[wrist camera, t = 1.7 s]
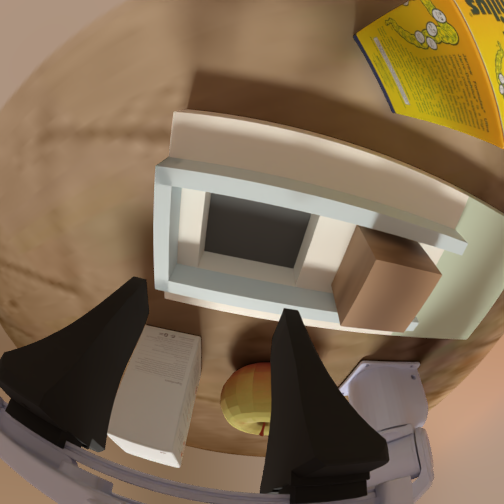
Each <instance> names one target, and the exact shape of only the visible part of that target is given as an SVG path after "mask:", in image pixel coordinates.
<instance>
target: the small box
mask: <svg viewBox="0 0 504 504" xmlns="http://www.w3.org/2000/svg"><path fill="white" fill-rule="evenodd" d="M200 376H201V337H199V336H195V335H190V334H185V333H180V332H176V331H171V330H166V329H162V328H157V327H153V326H148V325H145V327H144V329H143V332H142V334H141V336H140V338H139V340H138V342H137V345H136V347H135V350H134V352H133V354H132V357H131V359H130V361H129V364H128V366H127V369H126V371H125V373H124V376H123V378H122V381H121V383H120V386H119V388H118V391H117V394H116V397H115V400H114V404H113V408H112V412H111V417H110V421H109V426H108V432H107V435H108V436H109V437H110V438H111V439H112V440H113V441H114V442H115V443H116V444H117V445H119V446H120V447H121V448H122V449H123V450H124V451H125V452H127V453H130V454H132V455H135V456H138V457H142V458H144V459H148V460H151V461H155V462H158V463H161V464H165V465H169V466H173V467H177V468H179V467H180V466H181V462H182V457H183V452H184V447H185V443H186V438H187V434H188V429H189V425H190V420H191V416H192V411H193V406H194V402H195V397H196V393H197V389H198V385H199V381H200Z"/></svg>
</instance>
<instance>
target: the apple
mask: <svg viewBox="0 0 504 504" xmlns="http://www.w3.org/2000/svg"><path fill="white" fill-rule="evenodd" d="M220 405H221V408H222V411H223V414H224V416H225V419H226V420H227V421H228V422H229V424H230V425H232V426H233V427H235V428H236V429H238V430H241V431H244V432H246V433H251V434H257V435H260V436H264V435H269V428H270V417H271V364H270V362H260V363H255V364H250V365H246V366H245V367H243V368H241V369H239V370H237V371H236V372H234V373H233V374H232V375H231V377H230V378H229V379H228V380H227V382H226V383H225V384H224V386H223V389H222V392H221V400H220Z"/></svg>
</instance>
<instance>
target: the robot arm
mask: <svg viewBox="0 0 504 504" xmlns="http://www.w3.org/2000/svg"><path fill="white" fill-rule="evenodd" d="M148 314H149V306H148V295H147V282H146V279H142V278H138V277H133V278H131V279H130V280H129V281H127V282H126V283H125V284H124V285H122V286H121V287H120V288H119V289H118V290H116V291H115V292H114V293H113V294H111V295H110V296H109V297H108V298H106V299H105V300H104V301H103V302H101V303H100V304H99V305H97V306H96V307H95V308H93V309H92V310H91V311H89V312H88V313H86V314H85V315H84V316H82V317H81V318H79V319H78V320H76V321H75V322H73V323H72V324H70V325H68V326H67V327H65V328H63V329H62V330H60V331H58V332H56V333H54V334H52V335H50V336H48V337H46V338H44V339H42V340H39V341H37V342H35V343H32V344H29V345H27V346H24V347H21V348H18V349H15V350H12V351H8V352H5V353H4V354H3V355H2V357H1V359H0V387H1V388H2V389H3V390H4V391H5V393H6V394H7V395H9V397H10V398H11V399H10V401H9V404H7V403H6V402H5V401H4V400H3V399H2V398H1V397H0V458H1V459H2V460H3V461H4V462H5V463H7V464H8V465H9V466H10V467H11V468H12V469H13V470H14V471H16V472H17V473H18V474H19V475H20V476H22V477H23V478H24V479H25V480H26V481H28V482H29V483H30V484H32V485H33V486H34V487H35V488H37V489H38V490H40V491H41V492H42V493H44V494H45V495H47V496H48V497H49V498H51V499H52V500H54V501H55V502H57V503H58V504H145V503H142V502H139V501H135V500H132V499H129V498H126V497H124V496H120V495H118V494H115V493H112V487H113V483H111V482H109V481H106V480H104V479H102V478H100V477H98V476H96V475H93V474H91V473H89V472H87V471H85V470H83V469H81V468H79V467H78V465H77V463H76V461H77V462H80V463H82V464H84V465H86V466H88V467H90V468H92V469H94V470H97V471H99V472H101V473H104V474H106V475H108V476H111V477H114V478H116V479H119V480H121V481H124V482H127V483H130V484H133V485H136V486H139V487H142V488H145V489H149V490H152V491H155V492H159V493H163V494H167V495H170V496H175V497H179V498H184V499H188V500H194V501H199V502H205V503H211V504H414V503H415V502H416V501H417V500H418V499H419V498H420V497H421V496H422V495H423V494H424V493H425V492H426V491H427V490H428V489H429V488H430V486H431V485H432V481H433V479H434V473H433V459H432V452H431V447H430V443H429V439H428V436H427V432H426V430H425V429H423V428H421V427H422V426H423V425H424V423H425V421H426V419H427V415H428V403H427V399H426V396H425V393H424V389H423V386H422V383H421V380H420V377H419V374H418V371H417V368H418V367H419V366H420V363H419V362H385V361H362V362H360V363H359V365H358V366H357V367H356V368H355V369H354V371H353V372H352V373H351V374H350V375H349V377H348V378H347V379H346V380H345V381H344V382H343V384H342V385H341V386H340V387H339V388H338V387H337V386H336V384H335V383H334V381H333V380H332V378H331V377H330V375H329V373H328V372H327V370H326V368H325V366H324V365H323V363H322V361H321V359H320V357H319V355H318V353H317V351H316V349H315V347H314V345H313V343H312V341H311V339H310V337H309V335H308V332H307V330H306V328H305V325H304V323H303V320H302V318H301V315H300V313H299V311H298V310H293V309H287V308H284V309H283V312H282V314H281V317H280V320H279V322H278V325H277V327H276V330H275V333H274V335H273V338H272V347H271V358H270V364H271V417H270V428H269V436H268V444H267V452H266V458H265V465H264V470H263V476H262V481H261V486H260V494H258V493H244V492H234V491H225V490H218V489H211V488H205V487H199V486H194V485H189V484H185V483H180V482H176V481H171V480H168V479H164V478H160V477H156V476H153V475H150V474H146V473H143V472H140V471H136V470H134V469H130V468H128V467H125V466H122V465H120V464H117V463H114V462H112V461H109V460H107V459H104V458H102V457H100V456H97V455H95V454H93V453H91V452H88V451H86V450H84V449H82V448H81V446H82V447H84V448H86V449H89V448H90V449H92V450H94V451H96V452H101V451H103V450H105V445H106V438H107V432H108V426H109V421H110V417H111V412H112V408H113V404H114V400H115V397H116V393H117V390H118V387H119V383H120V380H121V377H122V375H123V372H124V370H125V367H126V365H127V363H128V361H129V359H130V357H131V355H132V353H133V350H134V348H135V346H136V344H137V342H138V340H139V338H140V336H141V334H142V332H143V329H144V326H145V323H146V320H147V317H148ZM343 395H348V397H349V402H348V401H347V399H346V398H345V397H344V396H343ZM417 477H418V478H417ZM414 478H417V480H416V481H415V482H413V483H412V482H411V479H414Z"/></svg>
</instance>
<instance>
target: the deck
mask: <svg viewBox="0 0 504 504" xmlns="http://www.w3.org/2000/svg"><path fill="white" fill-rule="evenodd" d="M356 225H360V226H364V227H367V228H371V229H375V230H379V231H382V232H386V233H389V234H393V235H397V236H400V237H404V238H407V239H410V240H414V241H417V242H418V243H419V244H420V245H421V246H422V248H423V249H424V250H425V252H426V253H427V254H428V256H429V257H430V258H431V260H432V261H433V262H434V264H435V265H436V267H437V268H438V269H439V271H440V272H441V274H442V276H441V278H440V280H439V281H438V283H437V285H436V286H435V288H434V290H433V291H432V293H431V294H430V296H429V297H428V299H427V300H426V302H425V303H424V305H423V306H422V308H421V309H420V311H419V312H418V314H417V315H416V317H415V318H414V319H413V321H412V322H411V323H410V325H409V326H408V328H407V329H406V330H405V332H404V333H401V332H390V331H380V330H370V329H361V328H352V327H344V326H340V322H339V317H338V312H337V308H336V304H335V299H334V295H333V291H332V287H331V284H332V282H333V279H334V277H335V275H336V273H337V270H338V268H339V266H340V264H341V261H342V259H343V257H344V254H345V252H346V249H347V247H348V245H349V242H350V240H351V237H352V235H353V232H354V230H355V227H356ZM153 244H154V280H155V289H157V290H161V291H164V294H165V299H169V300H174V301H178V302H182V303H187V304H191V305H196V306H200V307H205V308H210V309H215V310H220V311H225V312H230V313H235V314H240V315H245V316H251V317H256V318H262V319H268V320H274V321H279V320H280V317H281V314H282V312H283V309H284V308H287V309H293V310H298V311H299V313H300V315H301V318H302V320H303V323H304V325H306V326H313V327H320V328H328V329H336V330H344V331H352V332H362V333H371V334H382V335H393V336H406V337H421V338H440V339H467V338H468V337H469V336H470V335H471V333H472V332H473V331H474V330H475V328H476V327H477V326H478V325H479V323H480V322H481V321H482V319H483V318H484V317H485V315H486V314H487V313H488V311H489V310H490V308H491V307H492V306H493V304H494V303H495V301H496V300H497V298H498V297H499V295H500V294H501V292H502V291H503V289H504V213H502V212H501V211H499V210H497V209H496V208H494V207H492V206H491V205H489V204H487V203H486V202H484V201H482V200H480V199H479V198H477V197H475V196H473V195H471V194H470V193H468V192H466V191H464V190H462V189H460V188H458V187H456V186H454V185H452V184H450V183H448V182H446V181H444V180H442V179H440V178H438V177H436V176H434V175H432V174H429V173H427V172H425V171H423V170H420V169H418V168H416V167H414V166H411V165H409V164H406V163H404V162H401V161H399V160H396V159H394V158H391V157H389V156H386V155H383V154H381V153H378V152H375V151H372V150H370V149H367V148H364V147H361V146H358V145H355V144H352V143H349V142H346V141H342V140H339V139H336V138H332V137H329V136H325V135H322V134H318V133H315V132H311V131H307V130H303V129H299V128H295V127H291V126H287V125H282V124H278V123H273V122H268V121H263V120H258V119H253V118H247V117H242V116H236V115H229V114H223V113H216V112H208V111H200V110H190V109H185V110H180V111H175V112H174V114H173V122H172V130H171V139H170V149H169V157H168V158H166V159H165V160H163V161H162V162H160V163H159V164H158V165H156V168H155V186H154V221H153Z"/></svg>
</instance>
